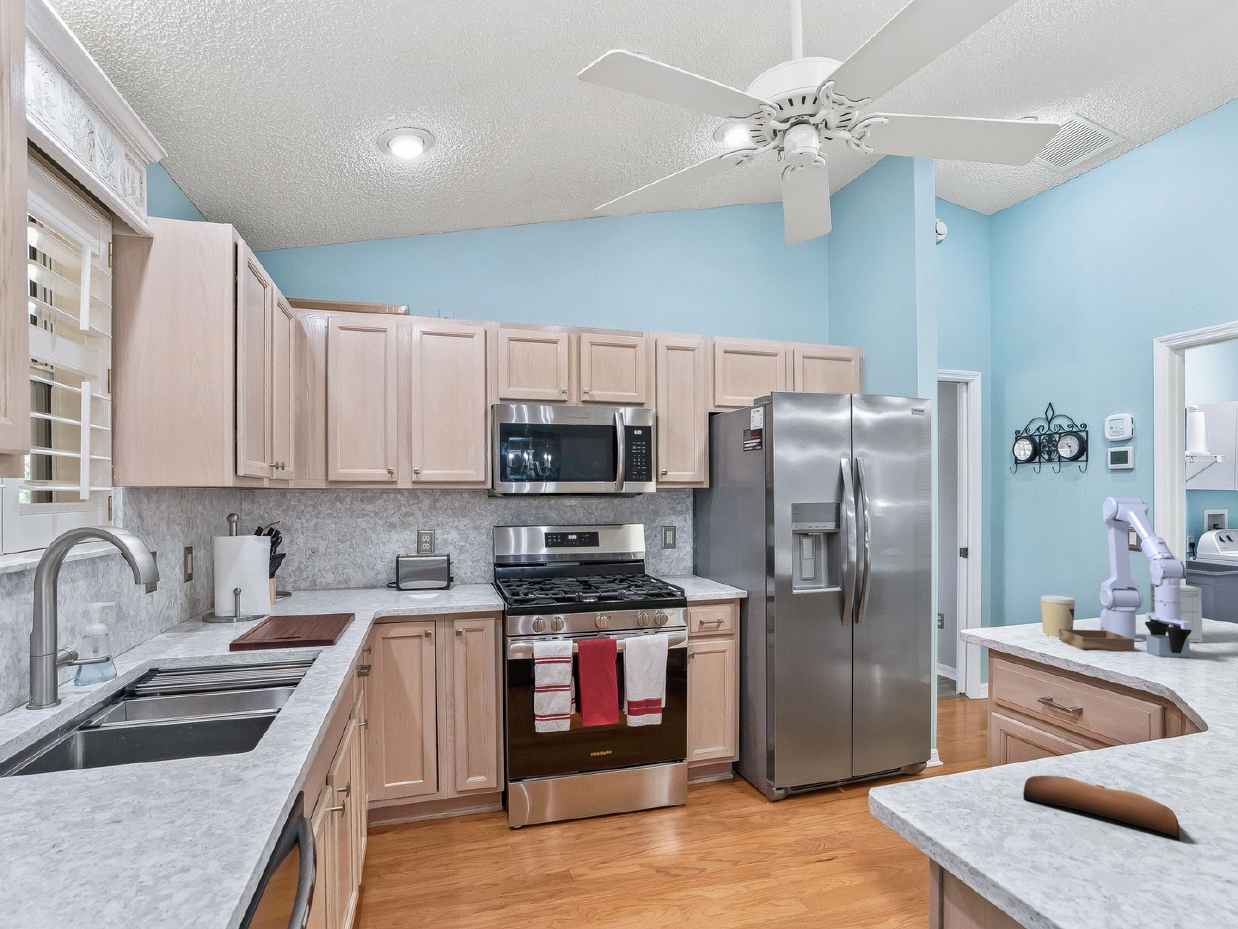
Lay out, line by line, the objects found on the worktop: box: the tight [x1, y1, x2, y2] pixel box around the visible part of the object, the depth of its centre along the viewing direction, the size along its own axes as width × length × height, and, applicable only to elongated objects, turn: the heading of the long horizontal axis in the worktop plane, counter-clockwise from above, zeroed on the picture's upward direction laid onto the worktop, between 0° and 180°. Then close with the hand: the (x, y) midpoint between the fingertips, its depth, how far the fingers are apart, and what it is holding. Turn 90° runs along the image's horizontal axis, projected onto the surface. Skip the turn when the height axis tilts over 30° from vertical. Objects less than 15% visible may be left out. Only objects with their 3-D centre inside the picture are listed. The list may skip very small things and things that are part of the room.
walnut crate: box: [1058, 629, 1135, 652], centre depth 202 cm, size 12×14×4 cm
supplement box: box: [1149, 582, 1203, 644], centre depth 213 cm, size 10×9×17 cm
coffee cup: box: [1039, 594, 1076, 638], centre depth 216 cm, size 9×9×12 cm
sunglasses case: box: [1022, 775, 1181, 841], centre depth 98 cm, size 18×7×7 cm, turn 52°
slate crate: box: [1146, 634, 1191, 658], centre depth 192 cm, size 5×8×5 cm, turn 86°
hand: (1167, 650), depth 192 cm, fingers open, 6 cm apart
